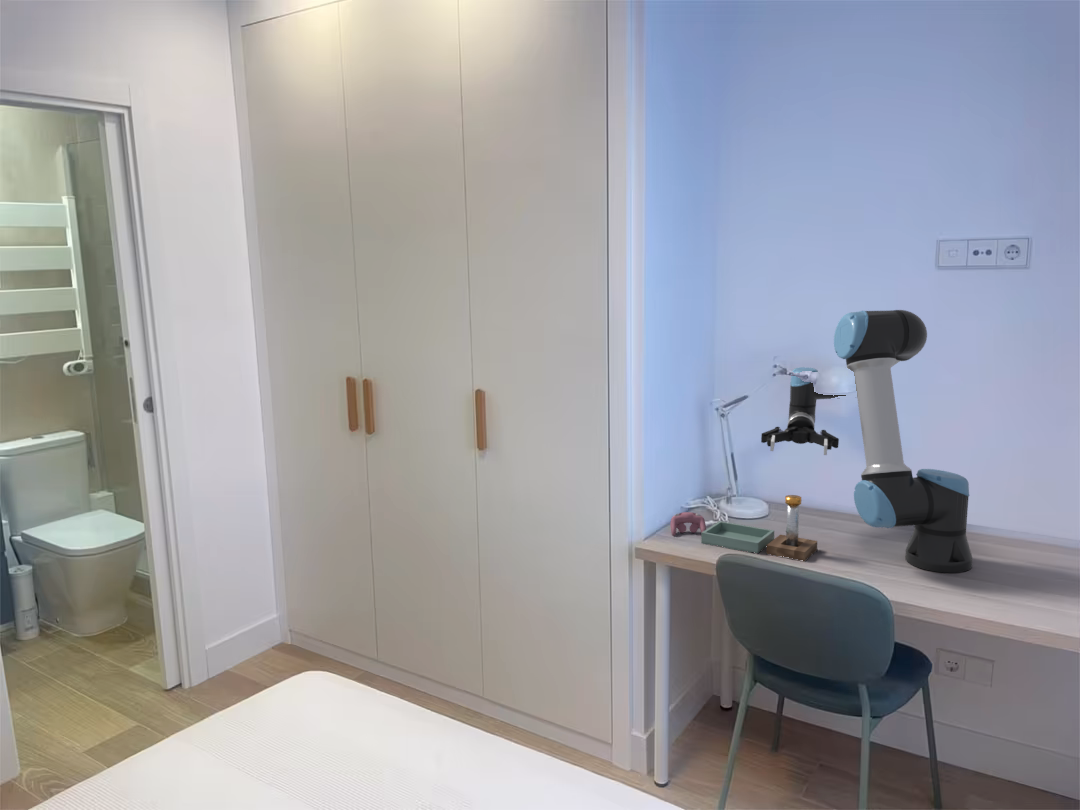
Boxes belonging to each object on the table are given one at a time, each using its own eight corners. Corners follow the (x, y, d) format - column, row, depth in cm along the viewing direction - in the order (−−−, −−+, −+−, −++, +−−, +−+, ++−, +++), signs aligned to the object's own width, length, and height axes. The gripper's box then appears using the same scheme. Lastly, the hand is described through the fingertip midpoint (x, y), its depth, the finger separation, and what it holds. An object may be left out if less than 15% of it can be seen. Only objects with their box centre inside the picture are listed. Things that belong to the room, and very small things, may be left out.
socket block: (817, 550, 217) (817, 541, 217) (804, 561, 209) (804, 552, 209) (780, 543, 223) (780, 534, 223) (766, 554, 215) (766, 545, 215)
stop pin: (801, 551, 217) (803, 496, 214) (796, 555, 213) (798, 500, 211) (787, 548, 219) (788, 494, 216) (781, 553, 216) (783, 497, 213)
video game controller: (705, 537, 234) (704, 513, 236) (706, 535, 229) (705, 510, 231) (670, 537, 235) (669, 513, 237) (671, 535, 230) (670, 510, 232)
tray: (774, 540, 225) (774, 530, 224) (757, 554, 215) (757, 543, 215) (719, 531, 234) (719, 520, 234) (701, 543, 225) (701, 532, 224)
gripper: (845, 443, 235) (847, 465, 216) (755, 437, 243) (749, 458, 223) (847, 418, 233) (849, 438, 214) (756, 413, 241) (750, 431, 222)
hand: (798, 448), depth 219 cm, fingers open, 13 cm apart
